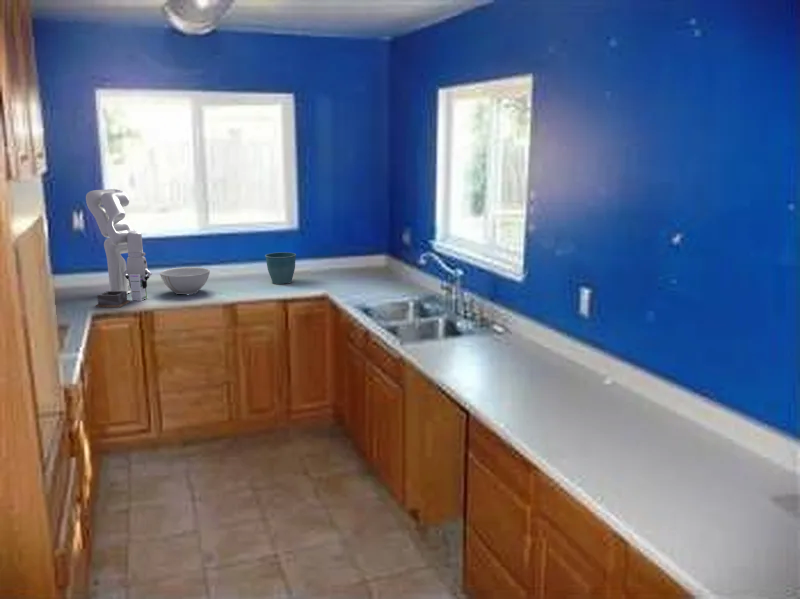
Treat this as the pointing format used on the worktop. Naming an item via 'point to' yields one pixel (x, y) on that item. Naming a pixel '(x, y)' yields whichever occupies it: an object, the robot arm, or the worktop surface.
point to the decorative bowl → (185, 279)
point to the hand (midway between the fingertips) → (138, 287)
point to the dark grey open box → (112, 299)
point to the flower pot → (281, 266)
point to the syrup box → (137, 287)
